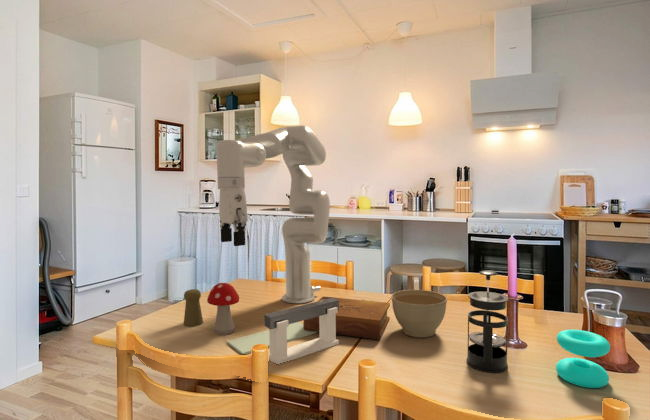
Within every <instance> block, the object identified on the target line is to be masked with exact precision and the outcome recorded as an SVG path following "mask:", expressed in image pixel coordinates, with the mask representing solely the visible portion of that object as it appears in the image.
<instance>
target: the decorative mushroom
mask: <svg viewBox="0 0 650 420" xmlns="http://www.w3.org/2000/svg"><path fill="white" fill-rule="evenodd" d="M206 301H207V303H208V304H209V305H212V306H217V308H216V309H217V310H216V317H215V323H214V325H213V330H214V332H215V333H216V334H217V335H231V334H233V333H235V329H236V326H235V323H234V321H233V316H232V311H231V306H232V305H235V304H237V303H240V295H239V294H238V292H237V291H236V289H235V287H234V286H233V285H232V284H231V283H227V282H219V283H217V284H215V285H214V286H212V287H211V289H210V292H209V294H208V296H207V300H206ZM215 333H214V334H215Z"/></svg>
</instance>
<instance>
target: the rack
mask: <svg viewBox="0 0 650 420" xmlns="http://www.w3.org/2000/svg"><path fill="white" fill-rule="evenodd" d="M336 313H338V308H337V307H333V308H330V309H327V314H325V315H322V316H319V333H318V334H319V337H317V338H314V339H312V340H308V341H305V342H301V343H299V344H295V345H292V346H289V347H288V342H287V327H289V323H288V320H284V321H281V322H277V323H276V324H277V328H274V329H269V328H268V330H269V339H270V347H269V353H268V354H269V359H268V360H269V361H270V362H272V363H273V362H274V363H273V364H275V363H276V364H279V365H281V364H280V363H282V364H284V363H283V362H285V363H287V361H288V362H290V360H291V361H293V360H296V359H299V358H302V357H305V356H309V355H310V354H313V353H317V352H319V351H323V350H326V349H328V348H330V347H335V346H337V345H339V344H340V339H337V336H336V335H337V334H336ZM276 364H275V365H276Z"/></svg>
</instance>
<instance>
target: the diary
mask: <svg viewBox="0 0 650 420" xmlns="http://www.w3.org/2000/svg"><path fill="white" fill-rule="evenodd" d="M329 298H334V299H337V300H339V311H338V313H336V335H341V336H348V337H350V336H351V337H356V338H357V337H358V338H364V339H374V340H381V339H382V336H383V334H384V332H385V330H386V328H387V326H388V324H389V322H390V319H391V318H390V316H388V310H389V308H390V306H391V303H390V302H385V301H376V300H375V301H374V300H372V301H371V300H365V299H353V298H342V297H332V296H331V297H330V296H322V297H320V298H319V299H318V300H317V301H321V300H325V299H329ZM303 325H304V330H308V331H316V332H317V333H318V332H319V316H318V317H314V318H311V319H307V320H303Z"/></svg>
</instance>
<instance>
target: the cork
mask: <svg viewBox="0 0 650 420" xmlns="http://www.w3.org/2000/svg"><path fill="white" fill-rule="evenodd" d="M201 296H202V294H201V291H200V290H199V289H195V288H194V289H188V290H185V292H184V294H183V299H184V300H185V308H184V318H183V326H184V327H188V328H191V327H194V328H195V327H198V326H199V327H200V326H201V325H203V324H204V320H203V314H202V308H201V301H200V299H201Z"/></svg>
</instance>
